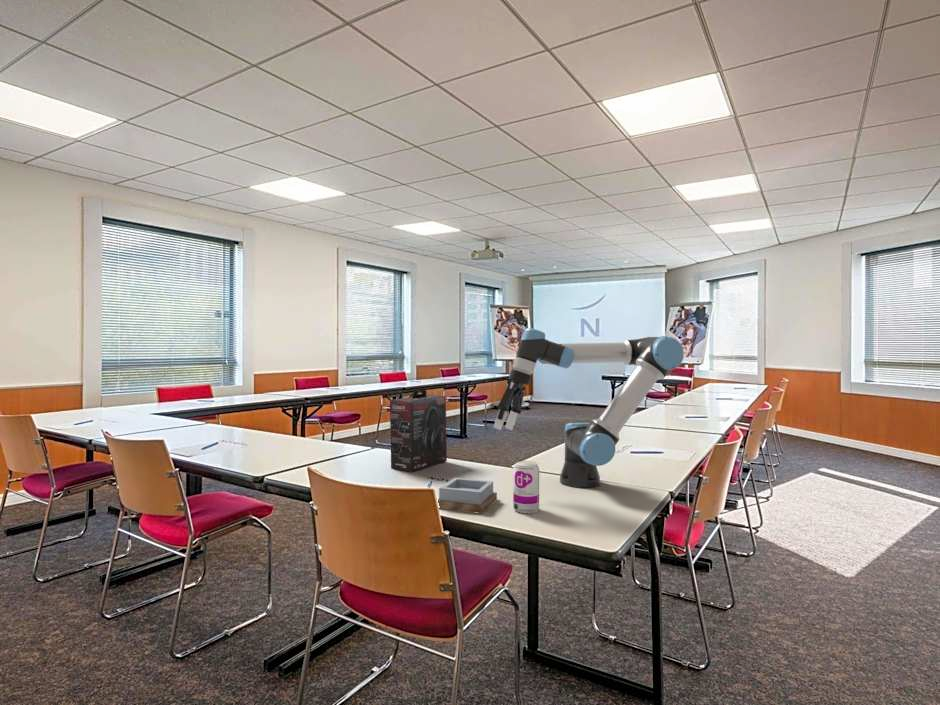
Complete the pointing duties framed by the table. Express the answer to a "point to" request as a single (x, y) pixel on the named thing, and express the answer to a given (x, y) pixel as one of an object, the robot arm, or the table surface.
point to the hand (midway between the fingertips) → (503, 429)
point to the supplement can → (526, 487)
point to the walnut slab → (468, 505)
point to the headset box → (418, 431)
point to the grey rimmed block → (466, 491)
